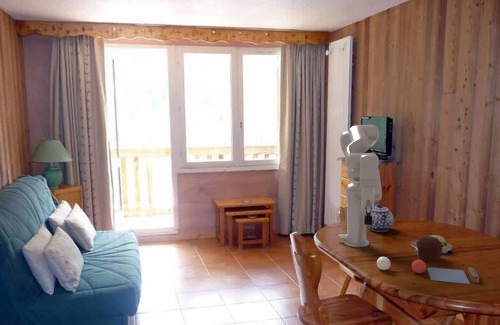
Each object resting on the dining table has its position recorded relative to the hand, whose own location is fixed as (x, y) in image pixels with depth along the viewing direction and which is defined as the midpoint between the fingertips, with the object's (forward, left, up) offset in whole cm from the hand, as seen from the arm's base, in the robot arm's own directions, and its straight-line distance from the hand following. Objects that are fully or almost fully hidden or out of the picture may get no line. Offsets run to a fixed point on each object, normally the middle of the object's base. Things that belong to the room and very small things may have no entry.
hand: (368, 222), depth 180 cm
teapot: (+5, +60, -20) cm, 63 cm away
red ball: (+21, -3, -17) cm, 27 cm away
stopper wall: (+41, -3, -20) cm, 46 cm away
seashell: (+31, +29, -20) cm, 47 cm away
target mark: (+32, -3, -20) cm, 37 cm away
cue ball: (+7, -3, -17) cm, 18 cm away
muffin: (+27, +17, -20) cm, 37 cm away
